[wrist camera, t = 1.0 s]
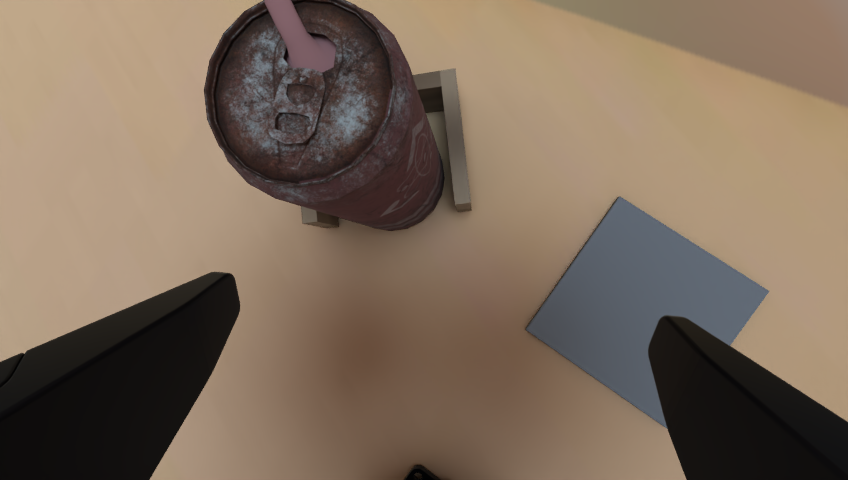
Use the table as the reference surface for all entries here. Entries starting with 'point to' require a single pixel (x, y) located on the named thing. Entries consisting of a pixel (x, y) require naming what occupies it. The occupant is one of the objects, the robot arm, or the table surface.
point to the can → (324, 113)
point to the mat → (638, 301)
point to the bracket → (437, 96)
